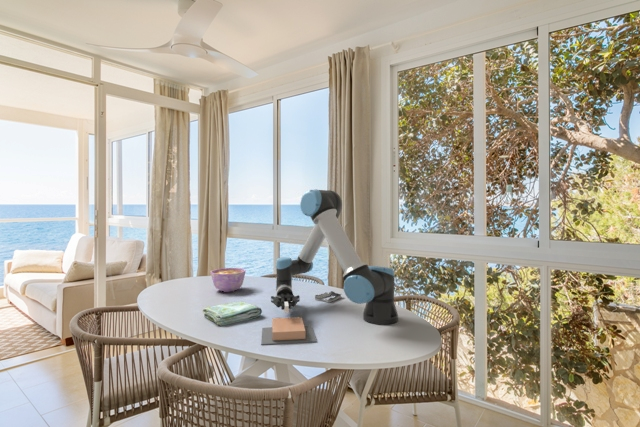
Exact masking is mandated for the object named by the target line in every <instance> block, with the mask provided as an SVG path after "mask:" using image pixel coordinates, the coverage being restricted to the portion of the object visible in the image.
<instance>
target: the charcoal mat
mask: <svg viewBox="0 0 640 427" xmlns="http://www.w3.org/2000/svg"><path fill="white" fill-rule="evenodd" d="M304 327H305V339H299V340H279V341H274V340H273V336H272V327H271V326H269V327H268V326H267V327H262V330H261V344H260V346H266V345H267V346H271V345H285V344H286V345H288V344H304V343H306V344H310V343H318V340H317V338H316V335H315V332H314V329H313V326H312V324H311V325H304Z"/></svg>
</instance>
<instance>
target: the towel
mask: <svg viewBox="0 0 640 427" xmlns="http://www.w3.org/2000/svg"><path fill="white" fill-rule="evenodd" d="M202 312H203V314H204V318H207V319H208V320H210V321H211V322H214V323H215V325H217V326H218V325H219V326H226V325H230V324H235V322H236V323H239V322H244V321H248V320H253V319H256V318H258V317H259V316H261V314H262V312H263V310H262V308H261V307H259V306H256V305H253V304H250V303H248V302H243V301H234V302H229V303H222V304H217V305H214V306H209V307H208V306H207V307H205V308H202Z"/></svg>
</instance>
